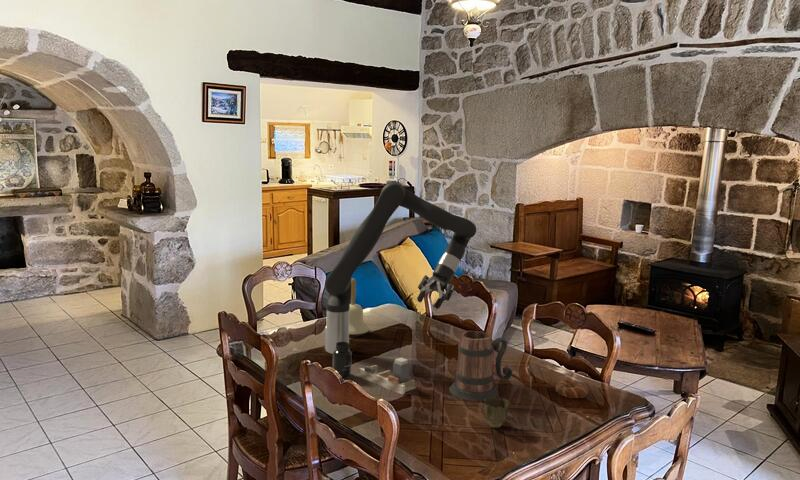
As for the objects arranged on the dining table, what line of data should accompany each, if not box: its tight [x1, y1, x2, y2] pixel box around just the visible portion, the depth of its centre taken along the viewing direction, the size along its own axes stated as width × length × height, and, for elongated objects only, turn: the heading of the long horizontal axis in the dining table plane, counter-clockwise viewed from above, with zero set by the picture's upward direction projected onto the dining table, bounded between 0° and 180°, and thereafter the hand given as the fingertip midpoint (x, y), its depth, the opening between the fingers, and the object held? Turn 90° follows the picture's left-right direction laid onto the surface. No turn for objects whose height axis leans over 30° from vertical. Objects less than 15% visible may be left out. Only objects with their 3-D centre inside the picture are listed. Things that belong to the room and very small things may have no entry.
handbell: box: [349, 277, 370, 335], centre depth 264 cm, size 15×15×25 cm
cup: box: [483, 396, 510, 429], centre depth 176 cm, size 8×7×8 cm
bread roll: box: [554, 379, 589, 399], centre depth 204 cm, size 12×11×4 cm
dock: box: [358, 364, 416, 395], centre depth 208 cm, size 22×7×5 cm, turn 45°
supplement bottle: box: [332, 342, 353, 379], centre depth 213 cm, size 7×7×12 cm
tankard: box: [448, 330, 513, 402], centre depth 203 cm, size 24×17×20 cm
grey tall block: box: [392, 357, 410, 384], centre depth 204 cm, size 4×4×10 cm
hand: (427, 304), depth 221 cm, fingers open, 8 cm apart
